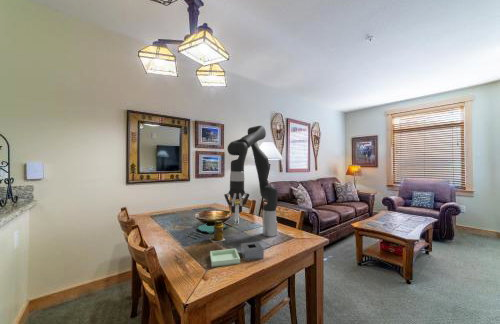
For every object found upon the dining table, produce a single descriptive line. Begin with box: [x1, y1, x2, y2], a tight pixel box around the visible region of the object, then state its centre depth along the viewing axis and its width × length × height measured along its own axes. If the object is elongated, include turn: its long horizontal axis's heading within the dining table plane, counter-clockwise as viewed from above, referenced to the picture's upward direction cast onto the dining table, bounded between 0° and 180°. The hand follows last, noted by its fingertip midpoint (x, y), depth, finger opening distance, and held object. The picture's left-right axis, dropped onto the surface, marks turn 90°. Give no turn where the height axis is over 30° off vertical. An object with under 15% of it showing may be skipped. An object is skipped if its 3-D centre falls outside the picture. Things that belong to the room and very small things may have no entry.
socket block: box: [240, 241, 265, 262], centre depth 112 cm, size 10×10×5 cm
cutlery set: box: [184, 223, 226, 240], centre depth 150 cm, size 20×30×2 cm, turn 142°
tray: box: [209, 248, 241, 268], centre depth 107 cm, size 14×12×2 cm
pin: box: [233, 199, 241, 225], centre depth 108 cm, size 4×4×12 cm
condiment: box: [209, 219, 226, 244], centre depth 134 cm, size 7×8×12 cm
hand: (236, 212), depth 108 cm, fingers closed on pin, 3 cm apart
